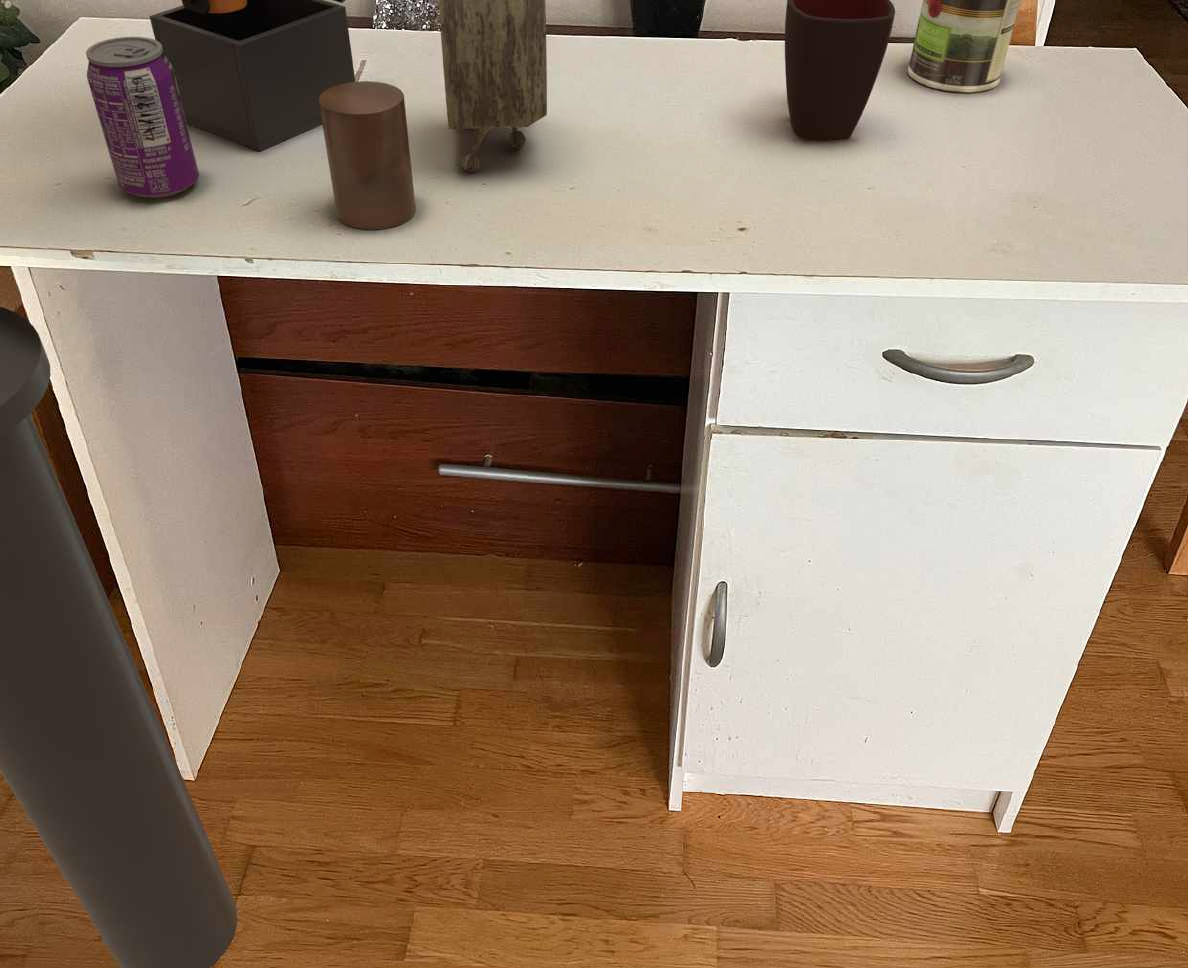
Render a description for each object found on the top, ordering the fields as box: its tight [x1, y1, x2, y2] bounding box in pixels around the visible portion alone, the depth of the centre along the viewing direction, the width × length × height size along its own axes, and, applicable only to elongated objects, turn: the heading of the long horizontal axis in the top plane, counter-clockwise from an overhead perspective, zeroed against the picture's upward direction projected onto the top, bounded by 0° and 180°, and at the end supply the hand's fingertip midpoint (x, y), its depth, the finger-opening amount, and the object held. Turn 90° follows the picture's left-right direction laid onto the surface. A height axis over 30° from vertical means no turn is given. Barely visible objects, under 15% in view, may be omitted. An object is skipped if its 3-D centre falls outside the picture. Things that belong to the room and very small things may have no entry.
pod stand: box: [319, 80, 417, 231], centre depth 96 cm, size 7×7×10 cm
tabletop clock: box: [437, 0, 548, 173], centre depth 101 cm, size 14×9×25 cm, turn 6°
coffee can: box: [907, 0, 1022, 94], centre depth 120 cm, size 10×10×14 cm
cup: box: [784, 0, 896, 142], centre depth 111 cm, size 10×14×12 cm
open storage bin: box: [149, 0, 356, 152], centre depth 111 cm, size 14×13×10 cm
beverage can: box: [85, 36, 200, 199], centre depth 98 cm, size 7×7×12 cm
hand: (220, 0), depth 105 cm, fingers closed on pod, 5 cm apart
